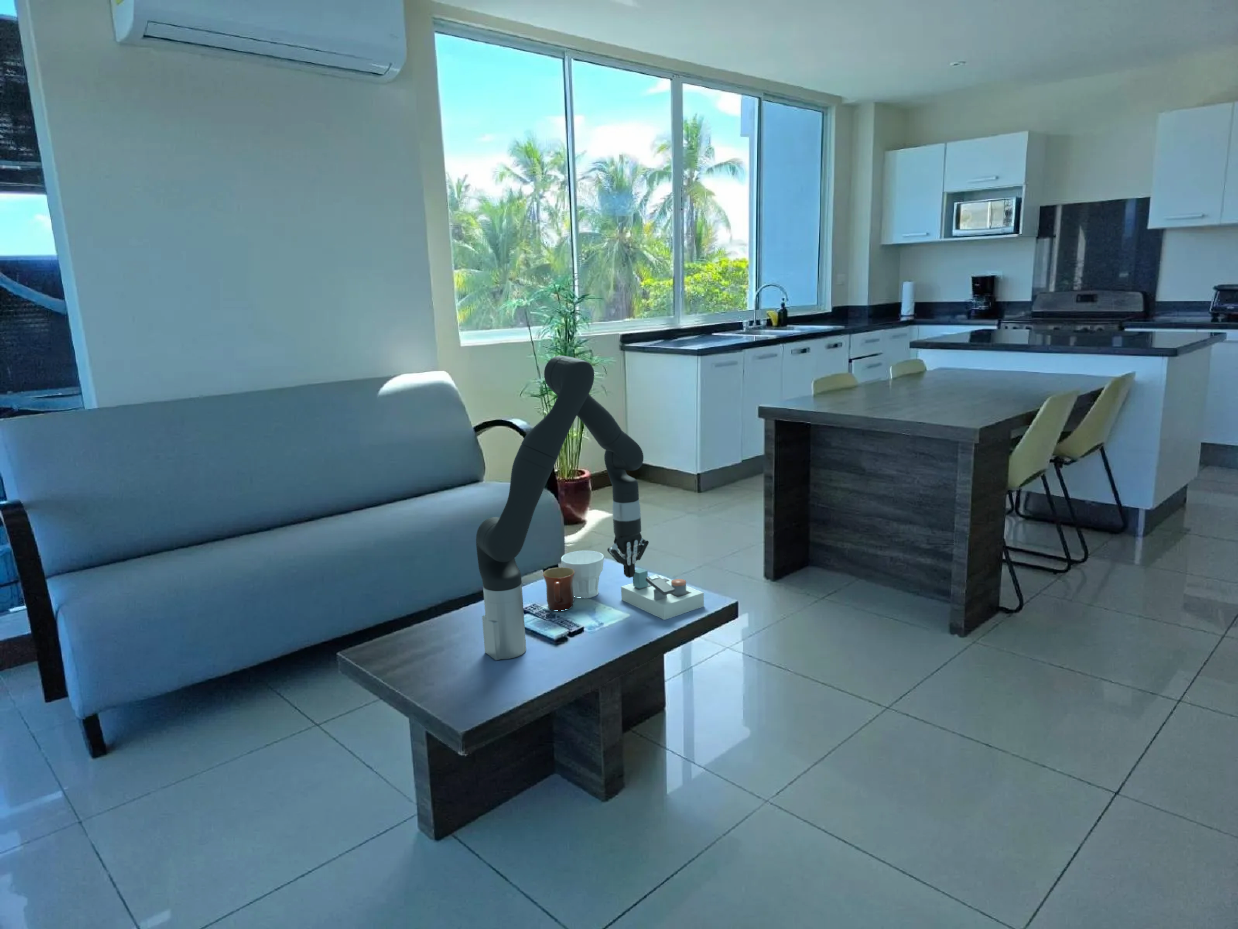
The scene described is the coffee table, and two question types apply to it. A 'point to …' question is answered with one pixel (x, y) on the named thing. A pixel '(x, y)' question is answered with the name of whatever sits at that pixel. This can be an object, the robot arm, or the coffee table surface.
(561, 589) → the mug
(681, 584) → the push button
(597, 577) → the cup
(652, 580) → the rocker
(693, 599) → the panel
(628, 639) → the coffee table surface
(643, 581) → the slider knob
